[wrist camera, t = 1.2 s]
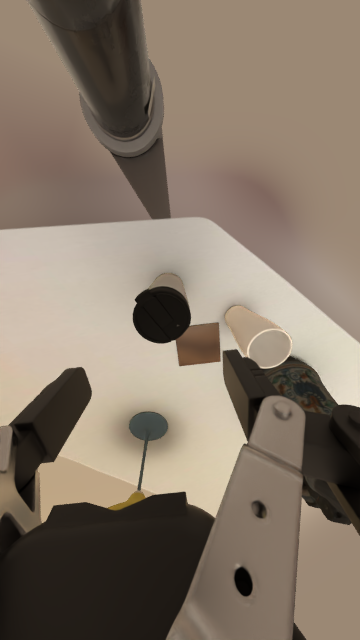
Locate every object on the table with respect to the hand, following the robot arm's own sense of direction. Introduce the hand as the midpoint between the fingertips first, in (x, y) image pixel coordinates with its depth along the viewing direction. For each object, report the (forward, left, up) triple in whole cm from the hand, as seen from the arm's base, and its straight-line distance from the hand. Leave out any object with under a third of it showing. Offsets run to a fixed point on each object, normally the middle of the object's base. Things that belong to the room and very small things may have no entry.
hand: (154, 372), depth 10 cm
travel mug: (0, 0, -29) cm, 29 cm away
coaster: (+14, +5, -29) cm, 32 cm away
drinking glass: (+8, +14, -29) cm, 33 cm away
